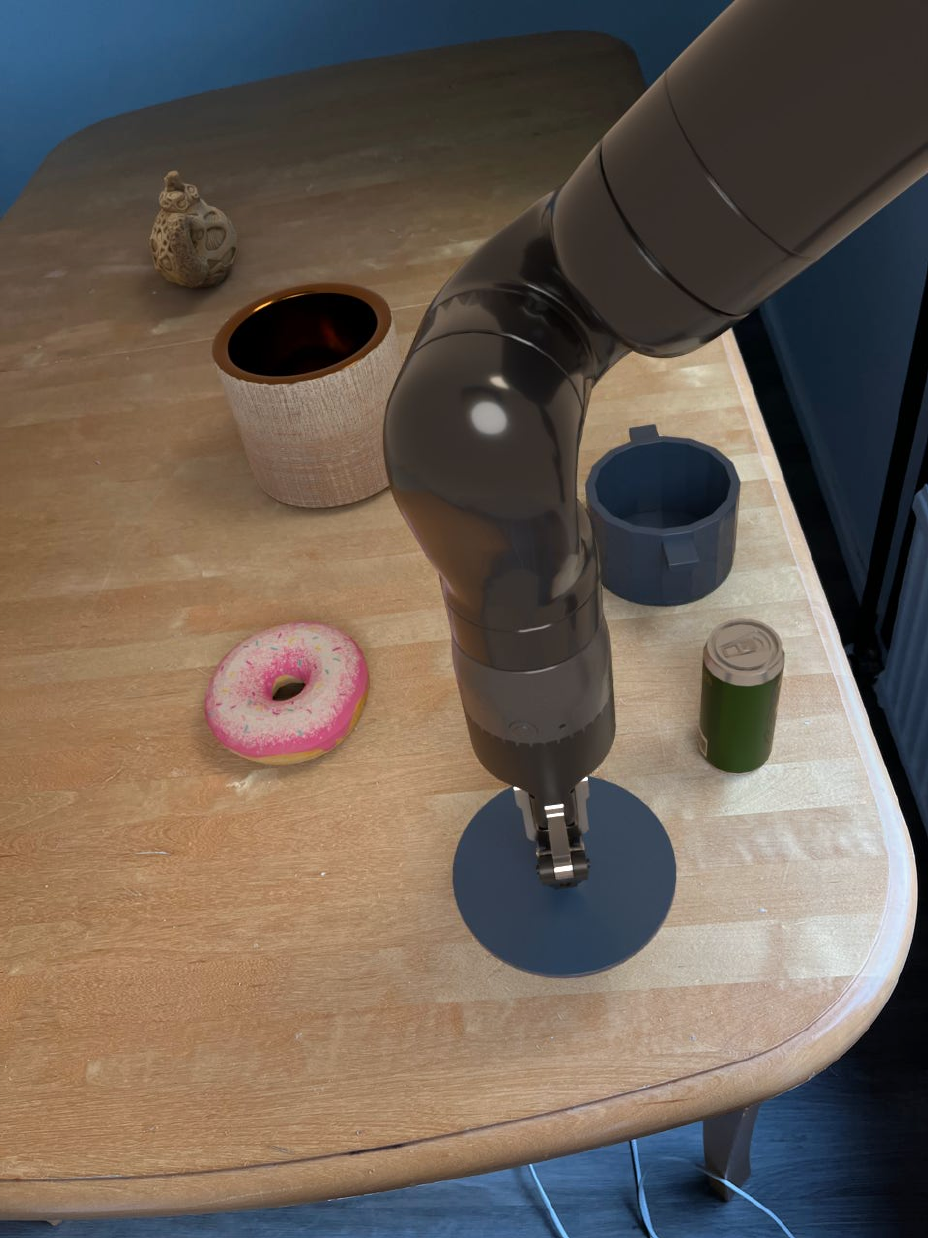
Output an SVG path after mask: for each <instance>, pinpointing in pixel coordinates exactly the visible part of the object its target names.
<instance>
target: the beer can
mask: <svg viewBox="0 0 928 1238" xmlns="http://www.w3.org/2000/svg"><path fill="white" fill-rule="evenodd" d="M702 651H703V652H702V666H701V667H702V668H701V669H702V670H701V684H700V685H701V686H700V703H699V704H700V705H699V721H698V739H697V746H698V749H699V753H700V754H701V756H702V757H703V758H704V760H705V761H706V762H707V764H708V765H709V766H710V767H712V768H713V769H714V770H715V771H717V772H719V773H722V774H725V775H727V776H738V777H739V776H745V775H750V774H751V773H754V772H755V771H757V770H758V769H760V768H761V767H762V766H763V765H764V764H765V763H766V762H767V761H768V760H769V759H770V756H771V754H772V750H773V745H774V744H773V743H774V736H775V730H776V723H777V717H778V712H779V711H778V710H779V702H780V698H781V697H780V696H781V689H782V683H783V676H784V670H785V669H784V668H785V663H786V662H785V657H786V656H785V651H784V647H783V641H782V639H781V636H780V635H779V634H778V632H776V630H775V629H773V627H772V626H770V625H768V624H766V623H764V622H763V621H760V620H756V619H753V618H743V617H740V618H739V617H738V618H732V619H728V620H726V621H724V622H721V623H719V624H718V625H716V626H715V627H714V628H713V629H712V630H711V632H710V633H709V634H708V637H707V640H706V642H705V645H703V650H702Z"/></svg>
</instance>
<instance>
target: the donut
mask: <svg viewBox="0 0 928 1238" xmlns="http://www.w3.org/2000/svg"><path fill="white" fill-rule="evenodd" d="M290 684H304V685H305V686H303V688H302V689H301V691H300V692H299V693H298V694H296V695H295V696H293V697H291V698H288V699H285V700H274V699H273V697H274V696H275V695H276V694H277V691H278V690H279V689H280V688H283V687H286V686H287V685H290ZM370 685H371V680H370V670H369V666H368V663H367V661H366V658H365V656H364V653H363V651H362V649H361V648H360V646H359V644H358V643H357V642H356V640H354V638H352V637H350V636H349V635H348V634H347V633H346V632H344V631H343V630H341V629H340V628H338V627H335V626H333V625H332V624H328V623H324V622H319V621H294V622H288V623H282V624H278V625H275V626H271V627H268V628H265V629H263V630H261V631H259V632H256V633H254V634H252V635H250V636H249V637H247V638H246V639H244V640H242V641H241V642H239V643H238V644H237V645H235V646H234V647H233V648H232V649H231V650H229V651H228V652H227V653H226V654H225V655H224V656H223V658H222V659H221V660H220V662H219V663H218V664H217V666H216V667H215V669H214V671H213V673H212V674H211V676H210V679H209V681H208V684H207V689H206V691H205V697H204V715H205V718H206V723H207V725H208V728H209V729H210V731H211V732H212V733H213V735H214V736H215V738H216V739H217V741H218V743H220V745H222V746H223V747H224V748H225V749H227V750H228V751H229V752H231V753H232V754H235V755H237V756H238V757H241V758H243V759H245V760H248V761H252V762H254V763H255V762H256V763H258V764H259V763H260V764H264V765H278V766H284V765H293V764H300V763H303V762H304V763H305V762H307V761H310V760H314V759H316V758H318V757H321V756H322V755H325V754H327V753H328V752H330V751H332V750H333V749H335V748H336V747H337V746H339V745H340V744H341V743H342V742H344V741H345V740H346V739H347V738H348V736H349V735H350V734H351V733H352V732H353V730H354V729H355V727H356V725H357V724H358V722H359V720H360V718H361V716H362V714H363V711H364V709H365V706H366V702H367V701H368V696H369V690H370Z"/></svg>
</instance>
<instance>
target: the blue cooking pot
mask: <svg viewBox="0 0 928 1238" xmlns="http://www.w3.org/2000/svg"><path fill="white" fill-rule="evenodd" d="M628 437H629V441H628V442H626V443H623V444H621V445H619V446H617V447H614V448H611V449H609V450H608V451H607V452H606V453H605V454H603V456H601V458H600V459H598V460H597V461H596V462H595V463H594V464H593V465H592V466H591V468H590V471H589V473H588V476H587V479H586V482H585V483H584V491H585V504H586V505H585V506H586V507H585V508H586V510H587V512H588V514H589V516H590V518H591V520H592V522H593V526H594V529H595V533H596V537H597V542H598V548H599V558H600V568H601V583H602V587H603V586H604V588H605V589H606V590H607V591H609V592H610V593H612V594H613V595H614V596H616V597H618V598H620V599H622V600H625V601H627V602H630V603H633V604H637V605H640V606H641V605H642V606H647V607H657V608H658V607H659V608H660V607H663V608H664V607H665V608H666V607H675V606H681V605H686V604H689V603H693V602H696V601H698V600H701V599H703V598H705V597H707V596H708V595H710V594H712V593H713V592H715V591H716V590H717V589H718V588H719V587H720V586H722V585H723V583H724V582H725V581H726V579H727V578H728V576H729V574H730V573H731V571H732V567H733V565H734V558H735V553H736V546H737V533H738V523H739V522H738V521H739V509H740V498H741V483H742V481H741V480H740V477H739V474H738V472H737V471H738V470H737V469H736V466H735V464H734V462H733V461H732V460H730V459H729V458H728V457H727V456H726V455H725V454H723V453H722V452H721V450H718V448H716V447H715V446H711V445H710V444H706V443H704V442H701V441H698V440H695V439H693V438H690V437H679V436H678V437H677V436H669V435H660V434H659V430H658V428H657V425H656V423H653V424H646V425H639V426H632V427H629V428H628Z"/></svg>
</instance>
